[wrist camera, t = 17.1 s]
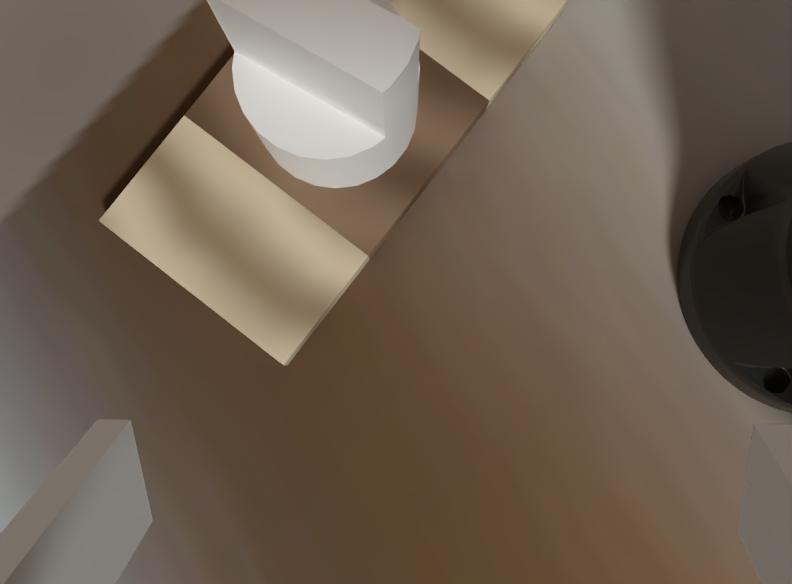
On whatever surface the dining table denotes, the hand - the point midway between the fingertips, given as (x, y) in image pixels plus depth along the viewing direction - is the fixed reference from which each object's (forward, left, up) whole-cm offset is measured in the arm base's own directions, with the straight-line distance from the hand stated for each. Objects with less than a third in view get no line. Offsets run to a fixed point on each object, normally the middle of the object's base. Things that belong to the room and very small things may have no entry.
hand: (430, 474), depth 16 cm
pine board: (+1, -17, -26) cm, 31 cm away
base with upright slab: (+1, -17, -25) cm, 30 cm away
